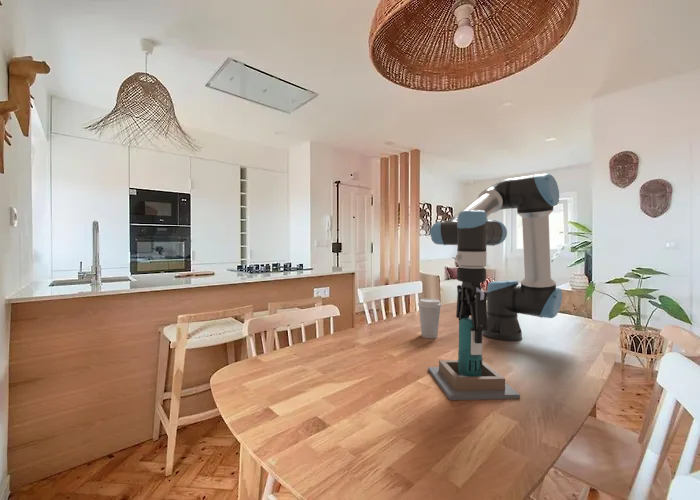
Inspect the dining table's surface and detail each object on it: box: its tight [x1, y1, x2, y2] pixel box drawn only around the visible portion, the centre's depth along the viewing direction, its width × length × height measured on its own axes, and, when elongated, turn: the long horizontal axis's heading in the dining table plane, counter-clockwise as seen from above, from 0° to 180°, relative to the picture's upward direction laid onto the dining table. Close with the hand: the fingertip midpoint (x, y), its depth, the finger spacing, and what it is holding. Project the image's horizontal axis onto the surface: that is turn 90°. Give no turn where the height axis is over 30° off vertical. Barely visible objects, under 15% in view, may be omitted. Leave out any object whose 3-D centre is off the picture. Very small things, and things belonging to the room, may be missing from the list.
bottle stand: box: [427, 359, 521, 401], centre depth 87 cm, size 18×18×4 cm
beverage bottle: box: [457, 306, 484, 377], centre depth 87 cm, size 6×7×20 cm
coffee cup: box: [417, 298, 442, 339], centre depth 130 cm, size 10×10×15 cm
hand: (470, 349), depth 87 cm, fingers open, 7 cm apart
